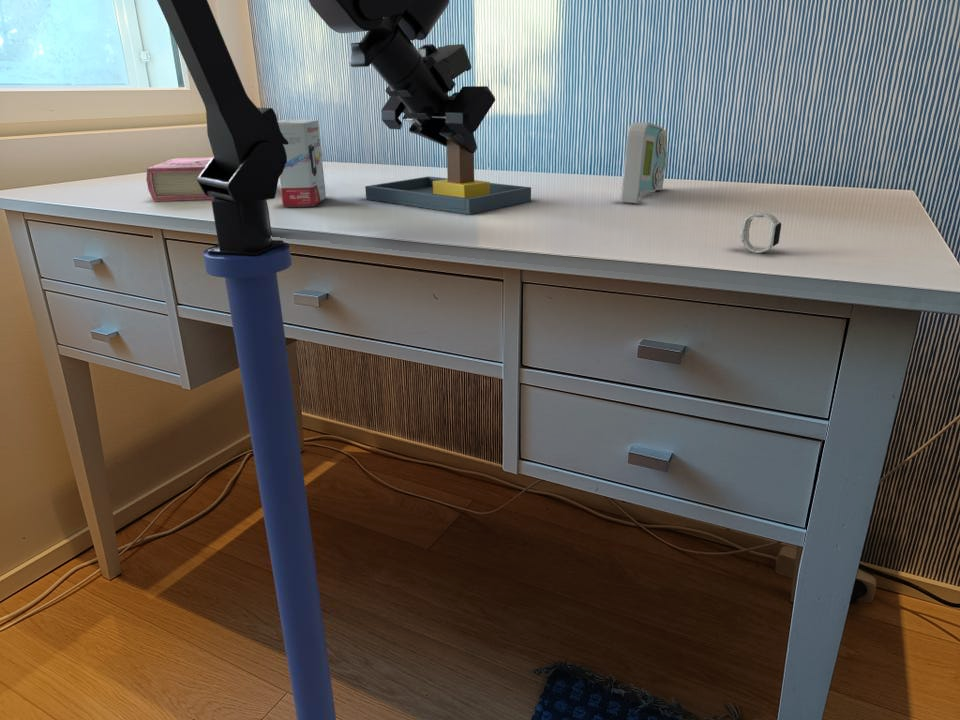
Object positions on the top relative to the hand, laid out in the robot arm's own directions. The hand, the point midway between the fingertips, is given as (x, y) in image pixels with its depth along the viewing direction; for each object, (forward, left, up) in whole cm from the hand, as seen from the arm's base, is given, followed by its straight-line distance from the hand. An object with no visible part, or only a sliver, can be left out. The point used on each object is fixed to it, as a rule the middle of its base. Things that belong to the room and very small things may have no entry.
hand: (467, 150), depth 100 cm
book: (+2, +45, -8) cm, 46 cm away
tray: (+1, +4, -7) cm, 8 cm away
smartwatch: (-27, -38, -8) cm, 47 cm away
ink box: (-4, +24, -8) cm, 26 cm away
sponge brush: (-1, +1, -7) cm, 7 cm away
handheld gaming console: (+8, -26, -8) cm, 28 cm away
